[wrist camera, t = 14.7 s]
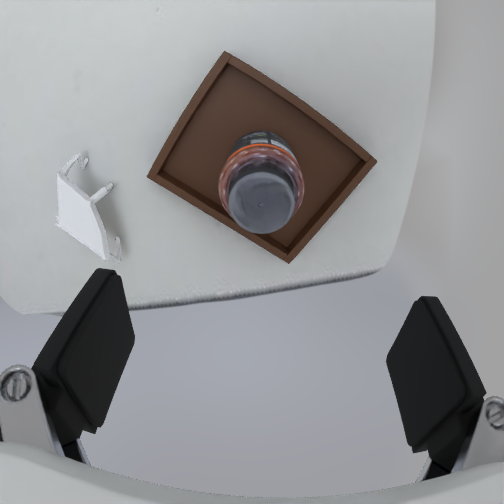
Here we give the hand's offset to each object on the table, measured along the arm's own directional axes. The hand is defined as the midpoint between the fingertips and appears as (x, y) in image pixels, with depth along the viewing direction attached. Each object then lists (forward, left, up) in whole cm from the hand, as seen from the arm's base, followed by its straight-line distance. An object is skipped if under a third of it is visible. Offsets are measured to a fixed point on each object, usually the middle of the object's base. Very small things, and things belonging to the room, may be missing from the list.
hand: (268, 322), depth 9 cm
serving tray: (0, +1, -22) cm, 22 cm away
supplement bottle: (0, +1, -22) cm, 22 cm away
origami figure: (+12, +15, -22) cm, 29 cm away
